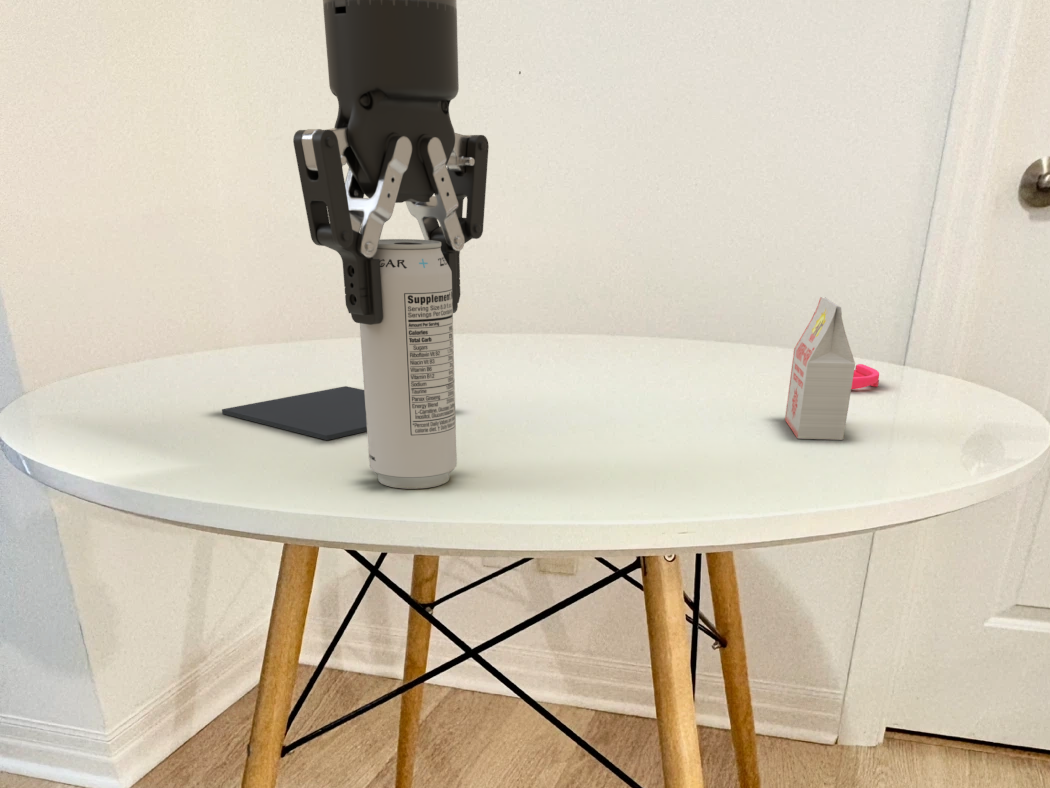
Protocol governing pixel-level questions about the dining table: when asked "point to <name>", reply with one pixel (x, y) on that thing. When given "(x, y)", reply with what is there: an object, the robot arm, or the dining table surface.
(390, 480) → the energy drink can
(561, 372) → the dining table surface
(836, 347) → the milk carton
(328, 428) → the slate mat
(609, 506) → the dining table surface
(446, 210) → the robot arm
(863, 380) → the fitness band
